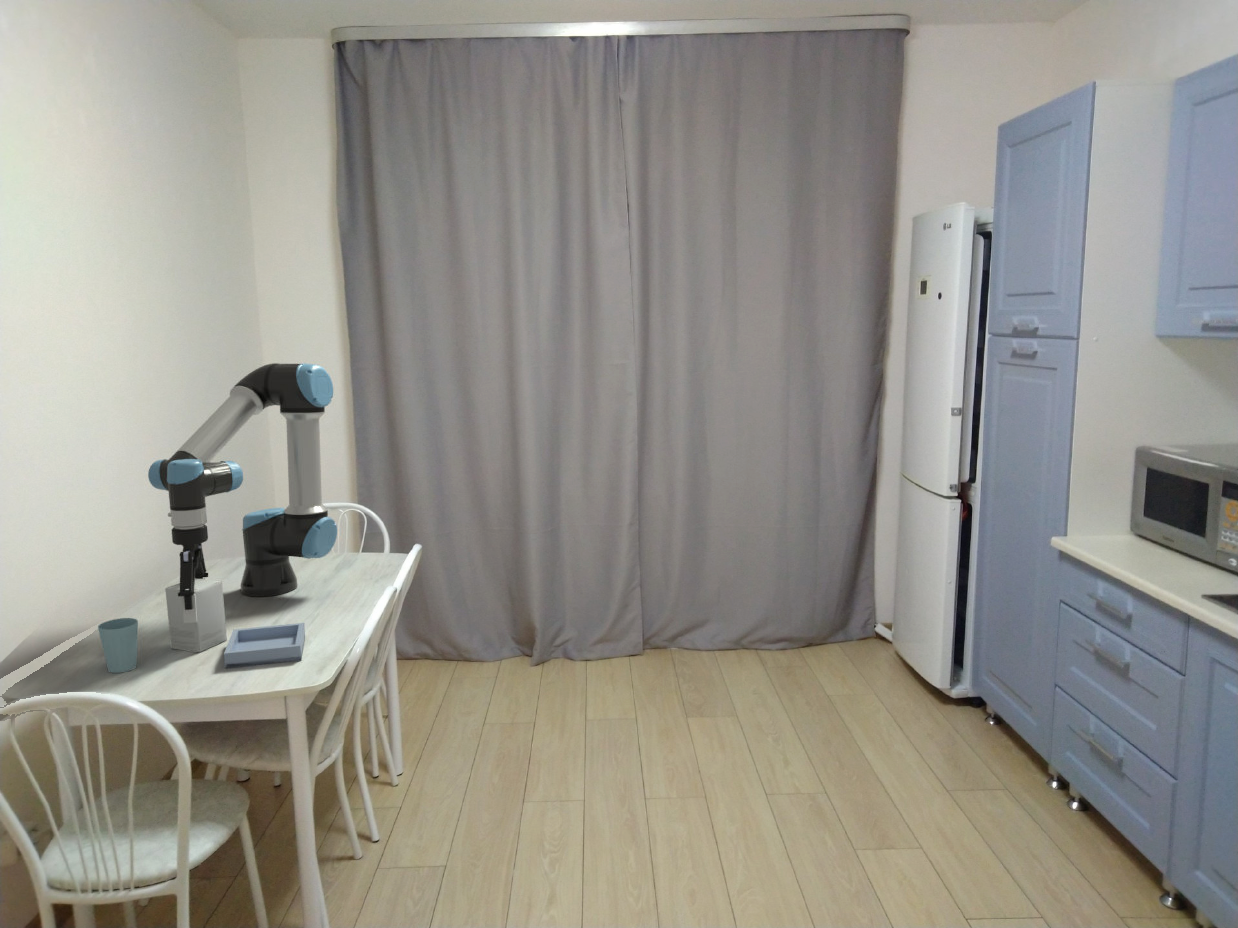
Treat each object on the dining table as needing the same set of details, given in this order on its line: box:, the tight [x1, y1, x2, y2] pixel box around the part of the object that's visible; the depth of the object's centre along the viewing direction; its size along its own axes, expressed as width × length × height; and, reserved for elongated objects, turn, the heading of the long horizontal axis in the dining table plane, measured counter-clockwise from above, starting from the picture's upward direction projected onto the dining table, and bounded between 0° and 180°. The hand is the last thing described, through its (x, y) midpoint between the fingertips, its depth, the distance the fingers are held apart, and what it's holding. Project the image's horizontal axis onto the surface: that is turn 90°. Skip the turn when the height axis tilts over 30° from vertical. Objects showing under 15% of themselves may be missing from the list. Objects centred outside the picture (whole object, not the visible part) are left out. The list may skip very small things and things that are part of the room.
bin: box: [223, 622, 306, 670], centre depth 204 cm, size 16×16×4 cm
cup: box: [97, 617, 139, 674], centre depth 194 cm, size 8×8×10 cm
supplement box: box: [165, 578, 228, 653], centre depth 208 cm, size 9×9×15 cm
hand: (195, 613), depth 208 cm, fingers open, 13 cm apart
